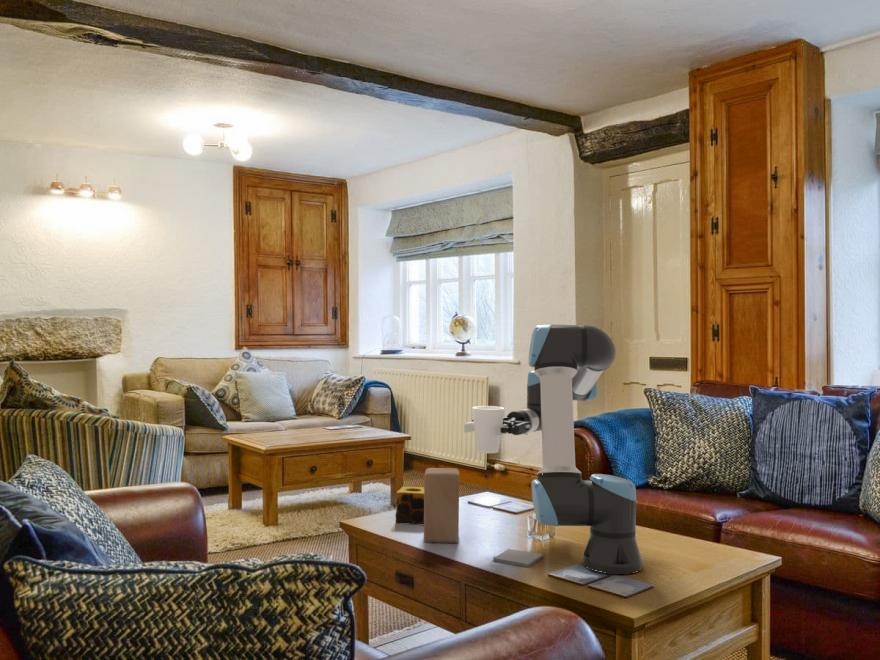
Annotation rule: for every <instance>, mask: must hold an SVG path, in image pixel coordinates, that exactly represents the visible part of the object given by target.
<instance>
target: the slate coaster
mask: <svg viewBox="0 0 880 660" xmlns="http://www.w3.org/2000/svg"><path fill="white" fill-rule="evenodd" d="M543 555H544V554H542V553H538V552H530V551H525V550H518V549H511V548H508V549H506V550H504V551H502V552H500V553H499V554H497V555H496V556H494V557H493V562H497V563H503V564H509V565H514V566H521V567H526V568H529V567H531V566H532V565H533V564H535V563H536V562H539V560H541V559H542V558H543Z"/></svg>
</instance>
